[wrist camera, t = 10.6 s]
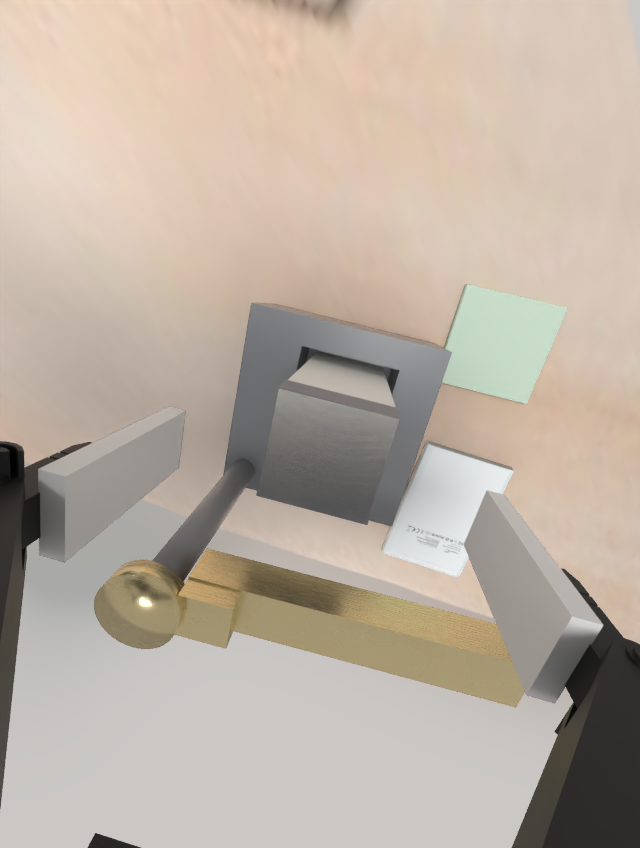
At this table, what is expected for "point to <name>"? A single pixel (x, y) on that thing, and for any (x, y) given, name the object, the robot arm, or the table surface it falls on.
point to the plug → (330, 438)
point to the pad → (500, 342)
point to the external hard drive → (442, 507)
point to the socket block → (258, 382)
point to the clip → (307, 622)
